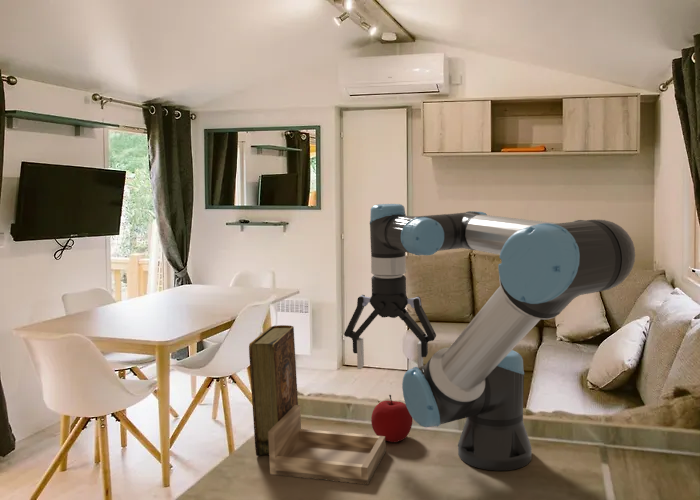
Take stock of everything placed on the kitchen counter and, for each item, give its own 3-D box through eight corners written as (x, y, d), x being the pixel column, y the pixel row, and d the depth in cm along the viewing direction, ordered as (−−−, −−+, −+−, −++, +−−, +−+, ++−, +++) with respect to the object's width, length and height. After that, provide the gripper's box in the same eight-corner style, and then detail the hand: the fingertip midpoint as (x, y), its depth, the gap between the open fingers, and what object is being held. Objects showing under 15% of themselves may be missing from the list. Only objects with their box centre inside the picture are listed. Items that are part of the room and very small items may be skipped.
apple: (366, 444, 155) (365, 400, 153) (378, 428, 163) (377, 387, 162) (406, 449, 151) (405, 405, 150) (417, 433, 160) (416, 391, 158)
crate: (385, 451, 150) (384, 411, 149) (367, 484, 136) (366, 440, 134) (296, 443, 156) (295, 404, 155) (270, 474, 141) (268, 431, 140)
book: (278, 428, 165) (272, 325, 161) (301, 429, 164) (295, 325, 160) (255, 458, 149) (248, 344, 145) (280, 459, 148) (273, 344, 144)
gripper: (448, 273, 152) (448, 367, 155) (338, 270, 159) (341, 360, 162) (443, 279, 145) (443, 377, 148) (328, 276, 152) (331, 370, 155)
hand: (390, 369), depth 155 cm, fingers open, 13 cm apart
